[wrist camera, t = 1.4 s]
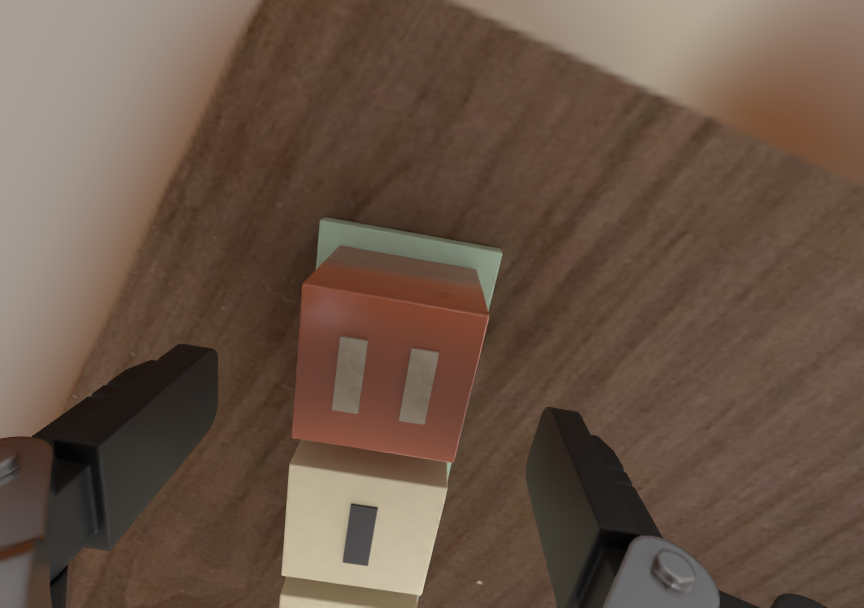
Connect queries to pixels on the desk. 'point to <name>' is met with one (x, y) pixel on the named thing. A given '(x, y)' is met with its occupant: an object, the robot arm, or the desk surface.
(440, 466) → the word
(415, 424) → the orange cube with stripes
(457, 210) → the desk surface
